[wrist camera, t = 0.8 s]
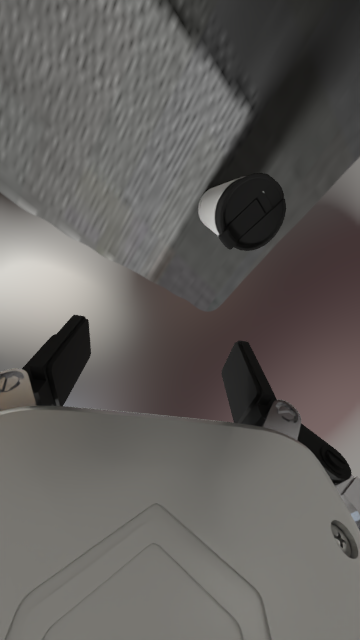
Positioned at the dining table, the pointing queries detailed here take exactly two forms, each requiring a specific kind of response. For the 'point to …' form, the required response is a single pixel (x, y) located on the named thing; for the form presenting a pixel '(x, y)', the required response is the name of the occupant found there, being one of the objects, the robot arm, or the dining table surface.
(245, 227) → the travel mug
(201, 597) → the robot arm
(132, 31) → the dining table surface
